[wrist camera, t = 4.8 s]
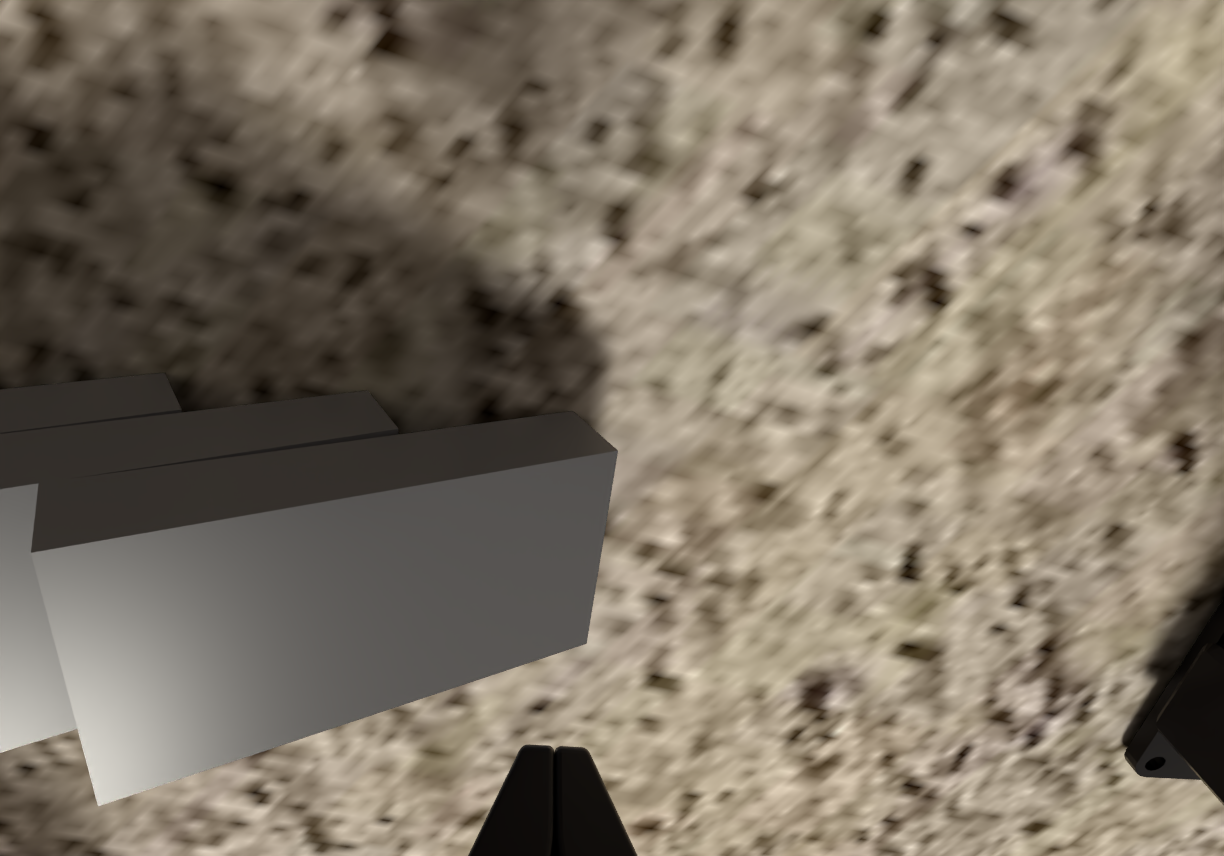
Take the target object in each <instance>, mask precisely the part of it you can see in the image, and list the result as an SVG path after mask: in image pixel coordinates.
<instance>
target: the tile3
mask: <svg viewBox="0 0 1224 856" xmlns="http://www.w3.org/2000/svg"><path fill="white" fill-rule="evenodd" d="M174 413H182V410H181V407H180V405H179V403H178V401H177V399H176V397H175V394H174V392H173V390H172V388H171V386H170V383H169V381H168V379H167V377H166V375H165V373H157V374H147V375H137V376H127V377H117V378H107V379H98V380H88V381H78V382H68V383H58V384H48V385H39V386H29V387H19V388H9V389H0V434H5V433H13V432H22V431H30V430H39V429H47V428H56V427H64V426H72V425H81V424H89V423H98V422H106V421H115V420H123V419H132V418H140V417H148V416H157V415H165V414H174Z"/></svg>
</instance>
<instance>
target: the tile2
mask: <svg viewBox="0 0 1224 856" xmlns="http://www.w3.org/2000/svg"><path fill="white" fill-rule="evenodd" d="M391 435H398V428H397V426H396V425H395V424H394V423H393V421H392V420H391V419H390V418H389V416H388V415H387V414H386V413H385V411H384V410H383V409H382V408H381V407H380V405H379V404H378V403H377V402H376V400H375V399H374V398H373V397H372V395H371V394H370V393H369V392H368V391H359V392H351V393H342V394H334V395H326V396H317V397H309V398H300V399H292V400H283V401H275V402H266V403H258V404H250V405H241V406H233V407H224V408H216V409H207V410H199V411H191V412H182V413H174V414H165V415H157V416H148V417H140V418H132V419H123V420H115V421H106V422H98V423H89V424H81V425H72V426H64V427H56V428H47V429H39V430H30V431H22V432H13V433H5V434H0V753H1V752H4V751H8V750H11V749H14V748H17V747H21V746H24V745H27V744H30V743H33V742H37V741H40V740H43V739H46V738H50V737H53V736H56V735H59V734H63V733H66V732H69V731H72V730H75V729H77V725H76V721H75V717H74V714H73V710H72V706H71V702H70V699H69V695H68V691H67V687H66V683H65V680H64V676H63V672H62V668H61V665H60V661H59V657H58V653H57V650H56V646H55V642H54V638H53V635H52V631H51V627H50V623H49V620H48V616H47V612H46V608H45V604H44V601H43V597H42V593H41V589H40V586H39V582H38V578H37V574H36V571H35V567H34V563H33V559H32V556H31V546H32V537H33V528H34V519H35V510H36V501H37V492H38V483H42V482H49V481H57V480H64V479H72V478H79V477H86V476H94V475H101V474H109V473H116V472H124V471H131V470H138V469H146V468H153V467H161V466H168V465H176V464H183V463H191V462H198V461H205V460H213V459H220V458H228V457H235V456H243V455H250V454H258V453H265V452H272V451H280V450H287V449H295V448H302V447H310V446H317V445H324V444H332V443H339V442H347V441H354V440H362V439H369V438H377V437H384V436H391Z"/></svg>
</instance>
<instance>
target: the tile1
mask: <svg viewBox="0 0 1224 856" xmlns="http://www.w3.org/2000/svg"><path fill="white" fill-rule="evenodd" d="M617 453H618V450H617V449H615V448H614V447H613V446H612V445H611V444H610V443H609V442H607V441H606V440H605V439H604V438H603V437H602V436H601V435H600V434H598V433H597V432H596V431H595V430H594V429H593V428H592V427H590V426H589V425H588V424H587V423H586V422H585V421H584V420H582V419H581V418H580V417H579V416H578V415H577V414H576V413H575V412H573V411H570V412H563V413H555V414H548V415H540V416H533V417H525V418H518V419H511V420H503V421H496V422H488V423H481V424H473V425H466V426H458V427H451V428H444V429H436V430H429V431H421V432H414V433H406V434H399V435H391V436H384V437H377V438H369V439H362V440H354V441H347V442H339V443H332V444H324V445H317V446H310V447H302V448H295V449H287V450H280V451H272V452H265V453H258V454H250V455H243V456H235V457H228V458H220V459H213V460H205V461H198V462H191V463H183V464H176V465H168V466H161V467H153V468H146V469H138V470H131V471H124V472H116V473H109V474H101V475H94V476H86V477H79V478H72V479H64V480H57V481H49V482H42V483H38V492H37V501H36V510H35V519H34V528H33V537H32V546H31V556H32V559H33V563H34V567H35V571H36V574H37V578H38V582H39V586H40V589H41V593H42V597H43V601H44V604H45V608H46V612H47V616H48V620H49V623H50V627H51V631H52V635H53V638H54V642H55V646H56V650H57V653H58V657H59V661H60V665H61V668H62V672H63V676H64V680H65V683H66V687H67V691H68V695H69V699H70V702H71V706H72V710H73V714H74V717H75V721H76V725H77V729H78V732H79V736H80V740H81V744H82V747H83V751H84V755H85V759H86V762H87V766H88V770H89V774H90V778H91V781H92V785H93V789H94V793H95V796H96V800H97V804H98V806H101V805H104V804H107V803H110V802H113V801H116V800H119V799H122V798H125V797H128V796H131V795H134V794H137V793H140V792H143V791H146V790H149V789H152V788H155V787H158V786H161V785H164V784H167V783H170V782H173V781H176V780H179V779H182V778H185V777H188V776H191V775H194V774H197V773H200V772H203V771H206V770H209V769H212V768H215V767H218V766H221V765H224V764H227V763H230V762H233V761H236V760H239V759H242V758H245V757H248V756H251V755H254V754H257V753H260V752H263V751H266V750H269V749H272V748H275V747H278V746H281V745H284V744H287V743H290V742H293V741H296V740H299V739H302V738H305V737H308V736H311V735H314V734H317V733H320V732H323V731H326V730H329V729H332V728H335V727H338V726H341V725H344V724H347V723H350V722H353V721H356V720H359V719H362V718H365V717H368V716H371V715H374V714H377V713H380V712H383V711H386V710H389V709H392V708H395V707H398V706H401V705H404V704H407V703H410V702H413V701H416V700H419V699H422V698H425V697H428V696H431V695H434V694H437V693H440V692H443V691H446V690H449V689H452V688H455V687H458V686H461V685H464V684H467V683H470V682H473V681H476V680H479V679H482V678H485V677H488V676H491V675H494V674H497V673H500V672H503V671H506V670H509V669H512V668H515V667H518V666H521V665H524V664H527V663H530V662H533V661H536V660H539V659H542V658H545V657H548V656H551V655H554V654H557V653H560V652H563V651H566V650H569V649H572V648H575V647H578V646H581V645H584V644H586V643H587V637H588V631H589V625H590V619H591V612H592V606H593V600H594V594H595V588H596V582H597V576H598V570H599V563H600V557H601V551H602V545H603V539H604V533H605V527H606V521H607V514H608V508H609V502H610V496H611V490H612V484H613V478H614V471H615V465H616V459H617Z"/></svg>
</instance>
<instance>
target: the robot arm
mask: <svg viewBox="0 0 1224 856" xmlns="http://www.w3.org/2000/svg"><path fill="white" fill-rule="evenodd" d="M1124 755H1125V759H1126V760H1127V762H1128V763H1129V764H1130V765H1131V767H1132V768H1133V769H1134V770H1135V772H1136V773H1137V774H1139V775H1140V776H1143V777H1155V778H1176V779H1197V780H1202V781H1203V782H1204V784H1205V785H1206V786H1207V787H1208V788H1209V789H1210V790H1211V791H1212V793H1213V794H1214V795H1215V796H1216V797H1217V798H1218V799H1219V801H1220V802H1221V803H1222V804H1223V805H1224V599H1223V601H1222V602H1221V604H1220V605H1219V607H1218V608H1217V610H1216V611H1215V613H1214V615H1213V616H1212V618H1211V619H1210V621H1209V622H1208V624H1207V625H1206V627H1205V628H1204V630H1203V632H1202V633H1201V635H1200V636H1199V638H1198V639H1197V641H1196V642H1195V644H1194V645H1193V647H1192V649H1191V650H1190V652H1189V653H1188V655H1187V656H1186V658H1185V659H1184V661H1183V663H1182V664H1181V666H1180V667H1179V669H1178V670H1177V672H1176V673H1175V675H1174V676H1173V678H1172V680H1171V681H1170V683H1169V684H1168V686H1167V687H1166V689H1165V690H1164V692H1163V693H1162V695H1161V697H1160V698H1159V700H1158V701H1157V703H1156V704H1155V706H1154V707H1153V709H1152V710H1151V712H1150V714H1149V715H1148V717H1147V718H1146V720H1145V721H1144V723H1143V724H1142V726H1141V728H1140V729H1139V731H1138V732H1137V734H1136V735H1135V737H1134V738H1133V740H1132V741H1131V743H1130V745H1129V746H1128V748H1127V749H1126V752H1125V754H1124ZM468 856H637V854H636V852H635V849H634V847H633V845H632V843H631V841H630V839H629V837H628V834H627V832H626V830H625V828H624V826H623V824H622V821H621V819H620V817H619V815H618V813H617V811H616V808H615V806H614V804H613V802H612V800H611V798H610V796H609V793H608V791H607V789H606V787H605V785H604V783H603V780H602V778H601V776H600V774H599V772H598V770H597V767H596V765H595V763H594V761H593V759H592V757H591V755H590V753H589V751H588V750H587V749H585V748H583V747H567V746H560V747H558V748H556V750H555V752H554V749H553V748H552V747H551V746H546V745H524V746H523V747H522V748H521V749H520V751H519V752H518V754H517V757H516V759H515V761H514V763H513V765H512V767H511V769H510V771H509V773H508V775H507V777H506V779H505V781H504V783H503V785H502V787H501V789H500V791H499V793H498V796H497V798H496V800H495V802H494V804H493V806H492V808H491V810H490V812H489V814H488V816H487V818H486V820H485V822H484V824H483V826H482V828H481V830H480V832H479V834H478V837H477V839H476V841H475V843H474V845H473V847H472V849H471V851H470V853H469V855H468Z"/></svg>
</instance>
